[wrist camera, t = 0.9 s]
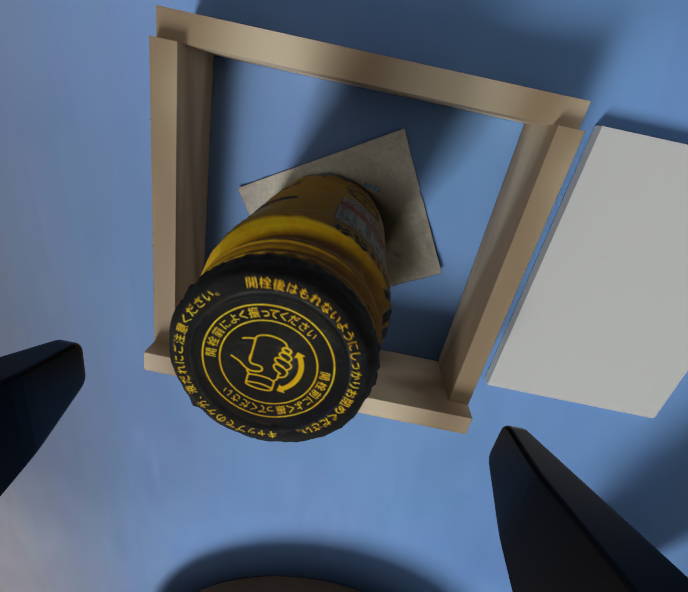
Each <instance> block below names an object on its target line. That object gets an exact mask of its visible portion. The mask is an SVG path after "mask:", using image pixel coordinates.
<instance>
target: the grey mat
mask: <svg viewBox="0 0 688 592" xmlns="http://www.w3.org/2000/svg"><path fill="white" fill-rule="evenodd" d="M687 371H688V145H687V144H682V143H678V142H673V141H668V140H664V139H659V138H655V137H650V136H646V135H641V134H637V133H632V132H628V131H623V130H618V129H614V128H609V127H605V126H595V127H594V129H593V132H592V134H591V136H590V139H589V141H588V143H587V145H586V148H585V150H584V152H583V155H582V157H581V159H580V161H579V164H578V166H577V168H576V171H575V173H574V175H573V177H572V180H571V182H570V184H569V187H568V189H567V191H566V194H565V196H564V198H563V200H562V203H561V205H560V207H559V210H558V212H557V214H556V216H555V219H554V221H553V223H552V226H551V228H550V230H549V233H548V235H547V237H546V239H545V242H544V244H543V246H542V249H541V251H540V253H539V255H538V258H537V260H536V262H535V265H534V267H533V269H532V272H531V274H530V276H529V278H528V281H527V283H526V285H525V288H524V290H523V292H522V294H521V297H520V299H519V301H518V304H517V306H516V308H515V310H514V313H513V315H512V317H511V320H510V322H509V324H508V327H507V329H506V331H505V333H504V336H503V338H502V340H501V343H500V345H499V347H498V349H497V352H496V354H495V356H494V359H493V361H492V363H491V366H490V368H489V370H488V372H487V375H486V377H485V380H486V382H487V384H488V385H492V386H497V387H502V388H507V389H512V390H516V391H521V392H526V393H531V394H536V395H541V396H546V397H551V398H556V399H560V400H565V401H570V402H575V403H580V404H585V405H590V406H595V407H600V408H605V409H609V410H614V411H619V412H624V413H629V414H634V415H639V416H644V417H649V418H655V416H656V415H657V413H658V412H659V411H660V409H661V408H662V406H663V405H664V403H665V402H666V401H667V399H668V398H669V396H670V395H671V394H672V392H673V391H674V389H675V388H676V386H677V385H678V384H679V382H680V381H681V379H682V378H683V377H684V375H685V374H686V372H687Z"/></svg>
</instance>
